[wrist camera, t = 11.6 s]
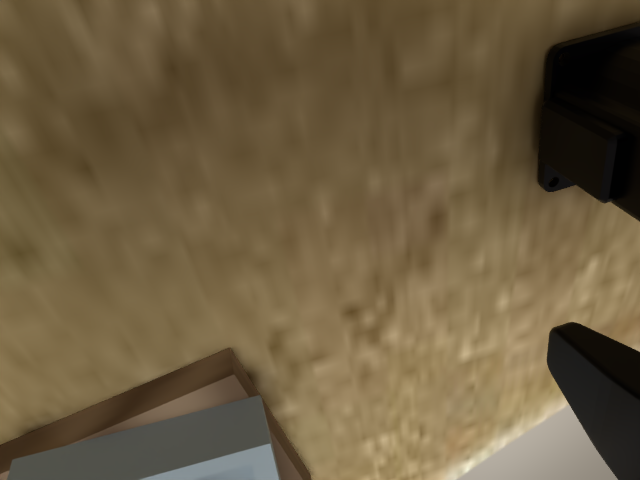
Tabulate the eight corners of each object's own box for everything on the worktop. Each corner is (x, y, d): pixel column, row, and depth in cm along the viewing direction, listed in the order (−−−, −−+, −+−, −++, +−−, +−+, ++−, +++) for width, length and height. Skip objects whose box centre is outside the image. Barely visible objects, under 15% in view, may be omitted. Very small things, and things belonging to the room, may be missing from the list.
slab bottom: (228, 336, 25) (234, 374, 23) (307, 463, 32) (316, 501, 30) (-4, 434, 25) (-19, 482, 23) (126, 541, 32) (123, 585, 30)
